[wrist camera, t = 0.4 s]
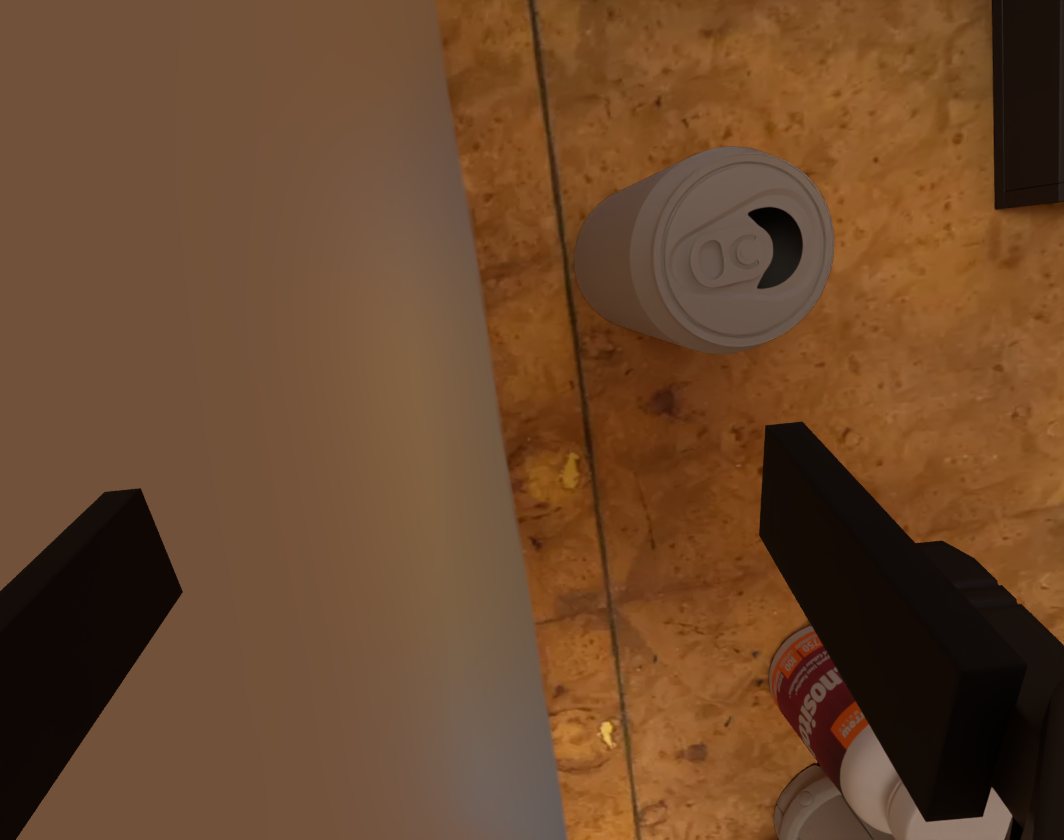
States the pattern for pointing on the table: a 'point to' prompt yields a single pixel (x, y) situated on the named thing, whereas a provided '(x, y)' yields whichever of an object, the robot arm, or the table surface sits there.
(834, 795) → the mug
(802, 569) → the robot arm
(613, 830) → the table surface
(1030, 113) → the tray
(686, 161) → the beverage can
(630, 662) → the table surface
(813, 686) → the pill bottle
